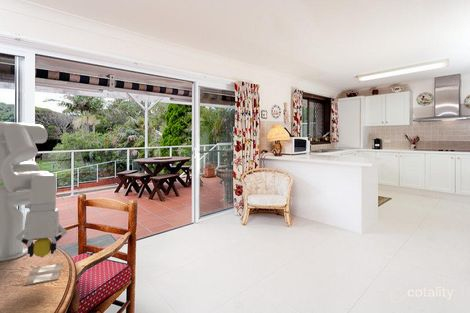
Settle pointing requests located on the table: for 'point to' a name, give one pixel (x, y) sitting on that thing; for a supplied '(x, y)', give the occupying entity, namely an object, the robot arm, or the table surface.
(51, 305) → the table surface
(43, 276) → the label board
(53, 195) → the robot arm
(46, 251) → the lemon
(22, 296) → the table surface
